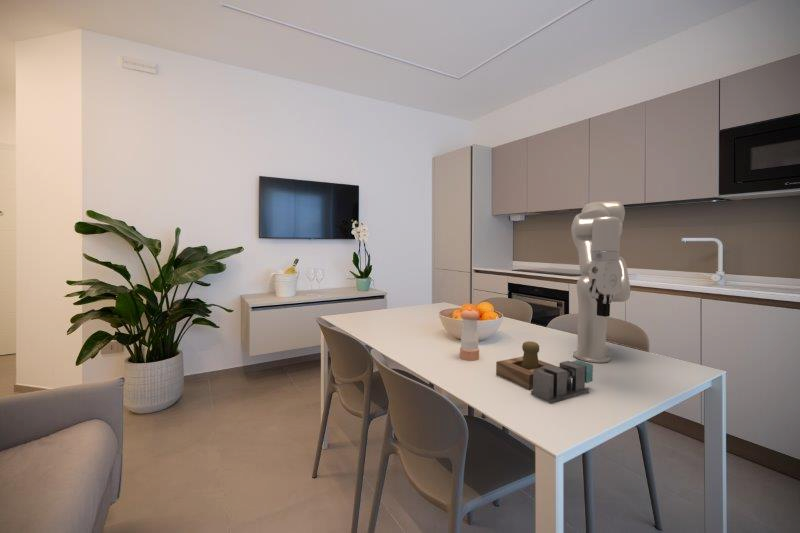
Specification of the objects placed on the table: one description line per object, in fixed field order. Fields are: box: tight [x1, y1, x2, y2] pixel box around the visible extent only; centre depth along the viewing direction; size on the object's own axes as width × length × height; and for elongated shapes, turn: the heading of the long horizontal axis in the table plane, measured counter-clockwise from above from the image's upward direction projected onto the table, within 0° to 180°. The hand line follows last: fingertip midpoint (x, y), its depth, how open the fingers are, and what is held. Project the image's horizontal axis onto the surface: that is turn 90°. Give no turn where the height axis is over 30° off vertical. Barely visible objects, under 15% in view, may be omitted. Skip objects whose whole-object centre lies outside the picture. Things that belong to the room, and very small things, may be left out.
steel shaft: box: [567, 359, 594, 384], centre depth 105 cm, size 17×5×5 cm, turn 118°
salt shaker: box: [459, 307, 480, 361], centre depth 137 cm, size 7×7×19 cm
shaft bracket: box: [530, 360, 590, 405], centre depth 104 cm, size 16×7×8 cm, turn 118°
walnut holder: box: [495, 356, 559, 391], centre depth 116 cm, size 14×14×4 cm
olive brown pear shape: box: [521, 340, 540, 370], centre depth 115 cm, size 6×6×11 cm
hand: (603, 315), depth 111 cm, fingers closed
